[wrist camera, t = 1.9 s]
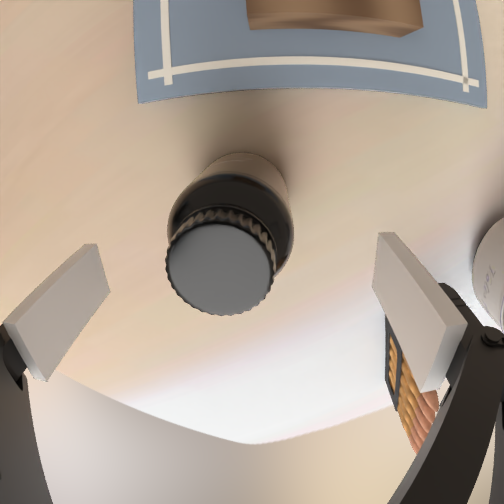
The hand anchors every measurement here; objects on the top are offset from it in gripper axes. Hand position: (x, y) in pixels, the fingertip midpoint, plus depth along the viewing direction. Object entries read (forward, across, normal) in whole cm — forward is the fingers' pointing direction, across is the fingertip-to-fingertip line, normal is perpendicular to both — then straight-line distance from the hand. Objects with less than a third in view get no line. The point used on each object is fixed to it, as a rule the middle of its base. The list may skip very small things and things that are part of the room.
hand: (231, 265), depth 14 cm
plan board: (+11, +6, +18) cm, 22 cm away
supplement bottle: (+11, 0, 0) cm, 11 cm away
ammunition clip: (+12, +14, -17) cm, 25 cm away
